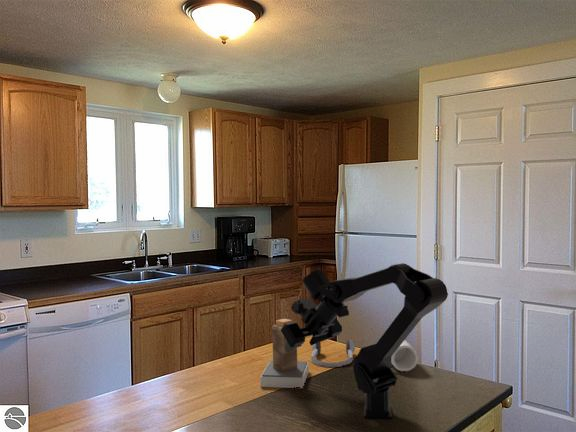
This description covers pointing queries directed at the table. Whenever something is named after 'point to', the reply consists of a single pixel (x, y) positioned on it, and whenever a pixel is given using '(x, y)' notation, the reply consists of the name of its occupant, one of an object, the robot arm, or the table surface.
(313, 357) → the headphones
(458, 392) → the table surface
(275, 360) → the tan tall cylinder
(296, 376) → the dock
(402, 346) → the mug
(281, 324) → the cargo
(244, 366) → the table surface
